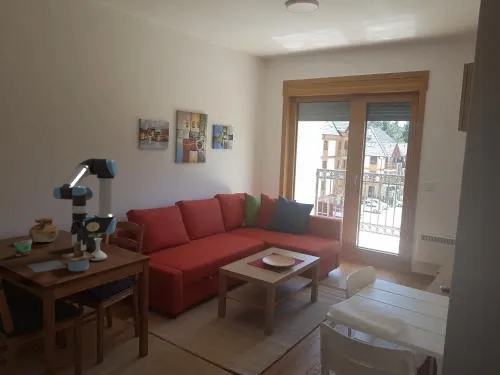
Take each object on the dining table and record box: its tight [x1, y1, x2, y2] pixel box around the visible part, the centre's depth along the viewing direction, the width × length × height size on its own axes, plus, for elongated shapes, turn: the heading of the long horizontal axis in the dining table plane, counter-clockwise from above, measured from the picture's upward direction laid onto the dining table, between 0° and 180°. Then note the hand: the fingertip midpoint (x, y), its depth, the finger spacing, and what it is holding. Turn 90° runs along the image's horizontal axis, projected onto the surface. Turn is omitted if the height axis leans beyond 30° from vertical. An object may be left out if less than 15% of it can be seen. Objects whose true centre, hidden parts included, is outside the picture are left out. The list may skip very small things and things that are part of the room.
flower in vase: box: [86, 222, 108, 262], centre depth 244 cm, size 13×11×25 cm
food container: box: [13, 237, 33, 258], centre depth 245 cm, size 12×6×10 cm, turn 168°
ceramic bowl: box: [67, 259, 90, 272], centre depth 225 cm, size 11×11×7 cm
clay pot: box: [28, 217, 59, 243], centre depth 279 cm, size 19×19×20 cm
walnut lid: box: [61, 242, 95, 263], centre depth 224 cm, size 14×14×9 cm
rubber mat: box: [26, 259, 67, 273], centre depth 226 cm, size 17×17×1 cm
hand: (78, 247), depth 224 cm, fingers open, 13 cm apart
